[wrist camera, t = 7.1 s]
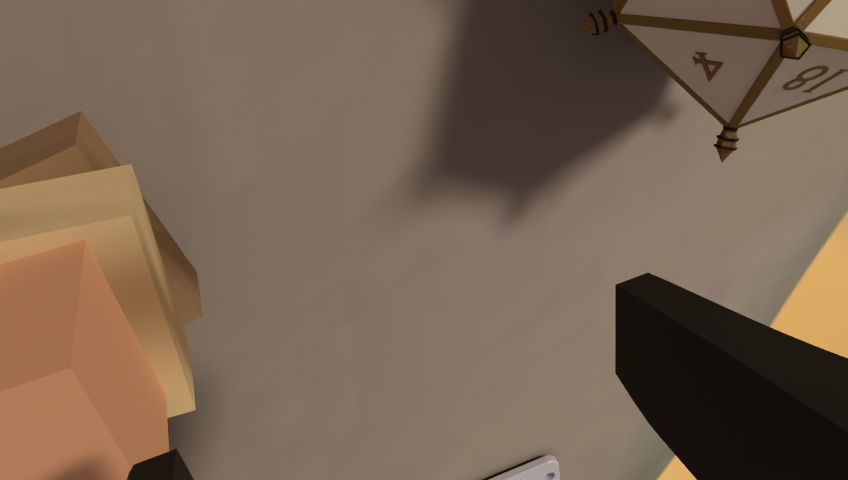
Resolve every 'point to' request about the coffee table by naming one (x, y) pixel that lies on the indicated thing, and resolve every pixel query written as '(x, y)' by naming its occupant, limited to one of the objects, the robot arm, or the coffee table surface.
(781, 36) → the game die
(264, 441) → the coffee table surface
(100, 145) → the walnut slab
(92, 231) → the oak slab
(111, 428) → the terracotta block
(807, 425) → the robot arm
